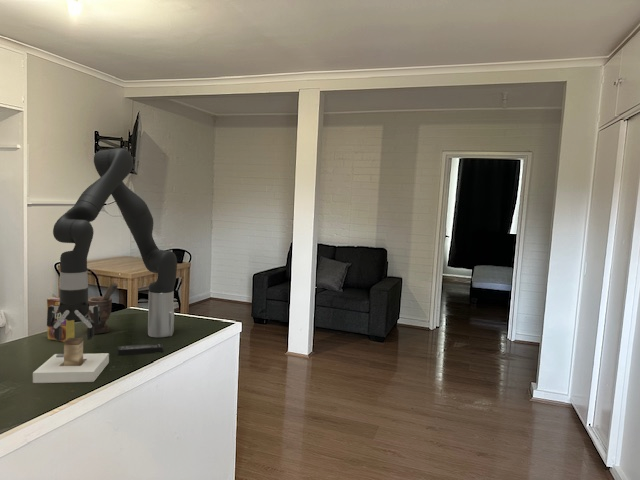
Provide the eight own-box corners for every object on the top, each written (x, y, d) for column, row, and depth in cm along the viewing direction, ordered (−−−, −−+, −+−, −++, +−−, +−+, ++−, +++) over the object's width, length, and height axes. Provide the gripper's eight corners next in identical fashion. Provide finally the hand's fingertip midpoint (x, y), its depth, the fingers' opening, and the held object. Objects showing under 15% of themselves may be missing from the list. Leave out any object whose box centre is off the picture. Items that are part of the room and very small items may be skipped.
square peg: (82, 369, 142) (83, 337, 141) (78, 374, 138) (78, 341, 137) (68, 369, 141) (69, 337, 140) (63, 374, 137) (63, 341, 136)
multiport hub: (118, 352, 160) (118, 346, 159) (162, 349, 165) (162, 343, 165) (117, 356, 156) (117, 350, 155) (163, 353, 161) (163, 347, 161)
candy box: (46, 339, 169) (46, 298, 167) (56, 336, 173) (56, 296, 171) (65, 343, 166) (65, 301, 165) (75, 339, 170) (75, 298, 169)
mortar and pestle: (122, 329, 186) (123, 280, 184) (115, 335, 178) (115, 283, 176) (92, 328, 185) (92, 279, 183) (83, 334, 176) (83, 283, 175)
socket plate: (108, 362, 149) (108, 351, 149) (93, 381, 133) (93, 369, 133) (54, 363, 146) (54, 352, 146) (32, 383, 130) (32, 370, 130)
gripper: (103, 284, 142) (103, 335, 144) (52, 283, 140) (53, 336, 141) (95, 289, 135) (96, 343, 136) (42, 288, 132) (43, 344, 134)
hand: (74, 339), depth 139 cm, fingers open, 8 cm apart
